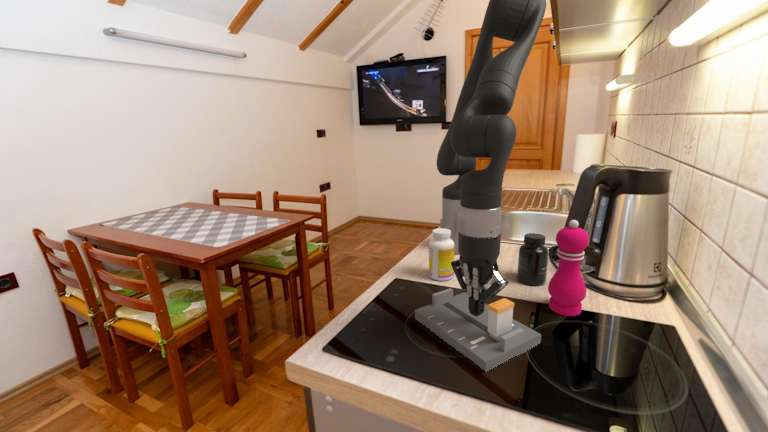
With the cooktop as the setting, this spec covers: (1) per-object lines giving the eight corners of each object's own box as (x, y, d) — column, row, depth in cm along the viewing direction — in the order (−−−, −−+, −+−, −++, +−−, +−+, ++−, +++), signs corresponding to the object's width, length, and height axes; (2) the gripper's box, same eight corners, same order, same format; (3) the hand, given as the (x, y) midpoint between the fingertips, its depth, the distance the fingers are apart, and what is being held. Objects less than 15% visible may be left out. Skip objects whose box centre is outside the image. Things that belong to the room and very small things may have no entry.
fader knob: (486, 336, 64) (488, 304, 62) (502, 329, 66) (504, 298, 64) (496, 342, 62) (497, 309, 60) (512, 334, 64) (514, 302, 62)
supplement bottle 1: (458, 275, 95) (459, 229, 91) (445, 284, 90) (445, 236, 87) (438, 269, 99) (438, 225, 96) (423, 277, 94) (423, 231, 91)
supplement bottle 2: (548, 287, 86) (553, 240, 83) (519, 285, 88) (522, 240, 84) (542, 275, 93) (546, 232, 90) (515, 274, 94) (517, 231, 91)
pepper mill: (582, 321, 72) (594, 226, 66) (543, 312, 75) (552, 222, 70) (584, 305, 77) (595, 217, 72) (549, 297, 81) (556, 213, 76)
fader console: (414, 318, 75) (414, 299, 74) (464, 300, 82) (464, 282, 80) (485, 372, 58) (486, 349, 57) (540, 343, 65) (542, 322, 64)
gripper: (439, 224, 68) (439, 305, 72) (492, 243, 57) (488, 337, 61) (468, 217, 72) (466, 295, 76) (523, 234, 61) (517, 323, 65)
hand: (476, 313), depth 69 cm, fingers closed
